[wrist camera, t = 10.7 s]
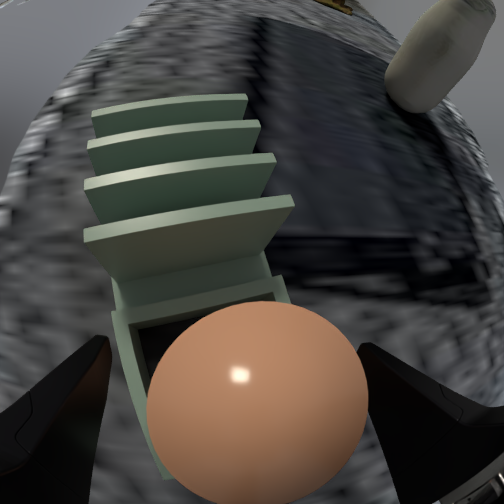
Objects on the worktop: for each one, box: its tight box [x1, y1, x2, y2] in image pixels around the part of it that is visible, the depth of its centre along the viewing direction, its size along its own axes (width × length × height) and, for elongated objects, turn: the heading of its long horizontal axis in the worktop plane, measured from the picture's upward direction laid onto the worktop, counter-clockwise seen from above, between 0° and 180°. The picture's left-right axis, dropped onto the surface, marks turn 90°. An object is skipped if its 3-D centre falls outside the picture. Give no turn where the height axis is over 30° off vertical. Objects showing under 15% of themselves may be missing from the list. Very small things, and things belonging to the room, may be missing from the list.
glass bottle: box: [385, 0, 496, 113], centre depth 23 cm, size 10×10×28 cm
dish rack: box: [84, 94, 295, 480], centre depth 13 cm, size 10×20×8 cm, turn 17°
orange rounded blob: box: [146, 301, 368, 504], centre depth 10 cm, size 6×6×11 cm
